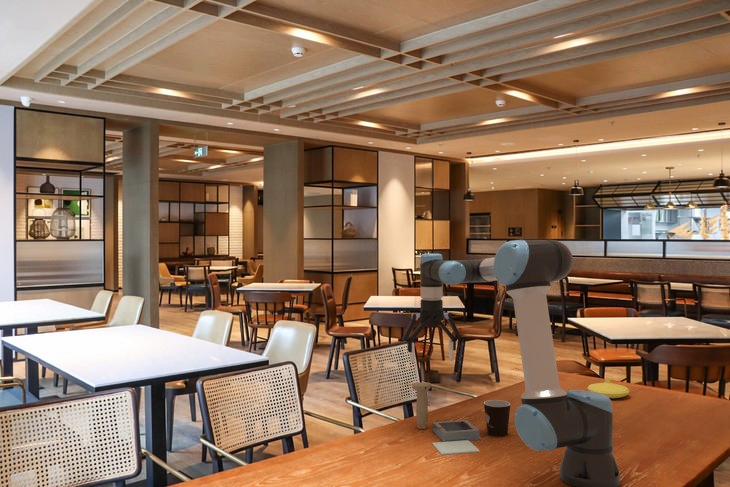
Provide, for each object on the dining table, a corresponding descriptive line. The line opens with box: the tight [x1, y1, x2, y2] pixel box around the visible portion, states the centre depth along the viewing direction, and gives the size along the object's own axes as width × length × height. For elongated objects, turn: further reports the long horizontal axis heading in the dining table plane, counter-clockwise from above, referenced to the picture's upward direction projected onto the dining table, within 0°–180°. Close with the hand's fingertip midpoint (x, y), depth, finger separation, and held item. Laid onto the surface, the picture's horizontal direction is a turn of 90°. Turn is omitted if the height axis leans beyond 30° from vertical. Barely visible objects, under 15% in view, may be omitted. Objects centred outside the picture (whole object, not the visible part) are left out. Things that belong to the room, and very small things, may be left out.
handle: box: [411, 381, 432, 430], centre depth 211 cm, size 5×6×15 cm
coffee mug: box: [483, 399, 511, 438], centre depth 205 cm, size 12×9×10 cm
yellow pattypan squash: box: [587, 377, 630, 399], centre depth 249 cm, size 16×16×7 cm
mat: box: [431, 440, 481, 456], centre depth 190 cm, size 10×12×1 cm
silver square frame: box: [432, 419, 481, 442], centre depth 202 cm, size 12×12×3 cm
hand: (431, 360), depth 211 cm, fingers open, 13 cm apart
